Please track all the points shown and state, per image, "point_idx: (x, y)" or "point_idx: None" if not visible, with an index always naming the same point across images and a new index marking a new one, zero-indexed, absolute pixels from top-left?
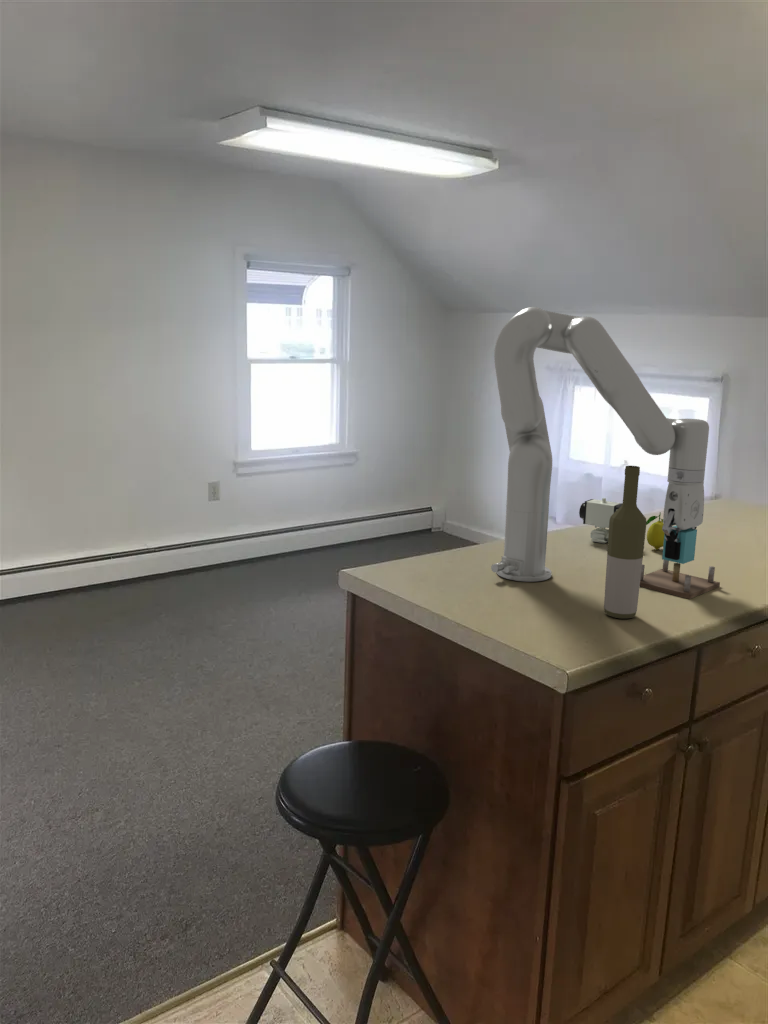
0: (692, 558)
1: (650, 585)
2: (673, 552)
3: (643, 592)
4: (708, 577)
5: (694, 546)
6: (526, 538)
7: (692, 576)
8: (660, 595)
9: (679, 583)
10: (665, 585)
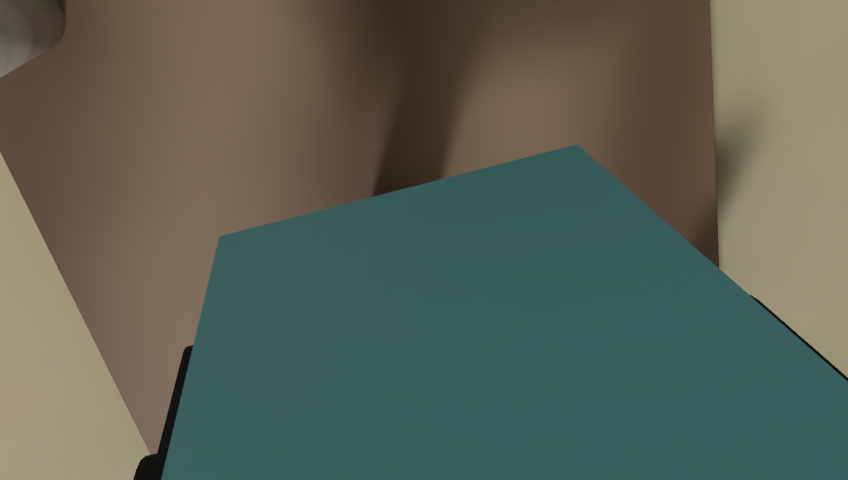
0: (278, 236)
1: (713, 222)
2: (776, 318)
3: (826, 162)
4: (46, 38)
5: (231, 364)
6: None
7: (83, 264)
8: (791, 27)
9: (436, 136)
10: (623, 147)
